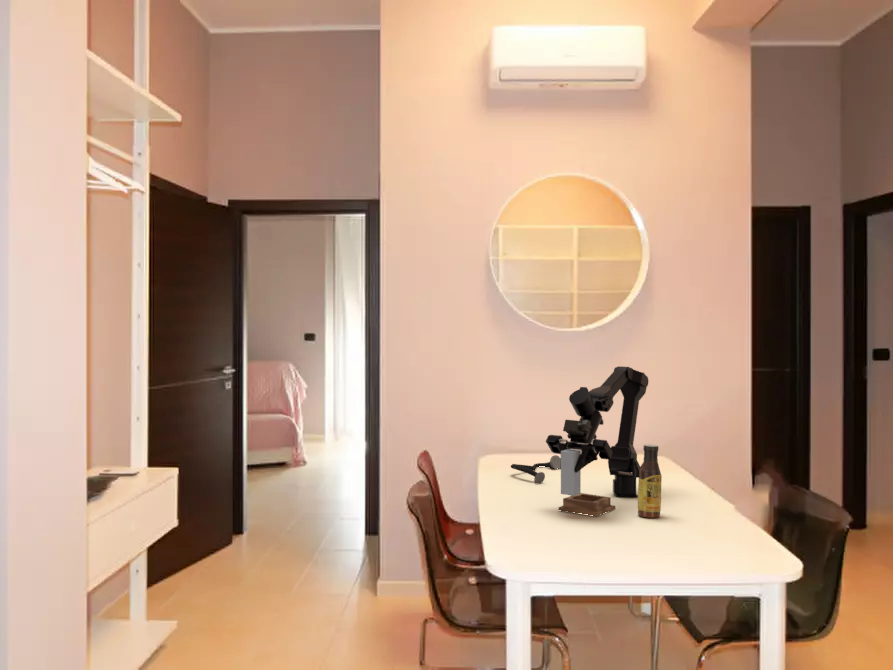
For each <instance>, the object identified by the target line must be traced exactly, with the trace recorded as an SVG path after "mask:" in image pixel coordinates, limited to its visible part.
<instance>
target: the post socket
mask: <svg viewBox="0 0 893 670" xmlns="http://www.w3.org/2000/svg"><path fill="white" fill-rule="evenodd" d="M562 500H563V501H562V505H561V506H558V507H557V508H558V509H557V510H561V511H560V512H562V511H568V512H575V513H582V514H588V515H593V516H598V515H600V514H603V513H605V512H608V511H610V512H612V511H614V509H615V510H616V505H612V504H611V503H612V500H611V497H610V496H603V495H597V494H589V493H584V492H581V493H580V494H577V495H575V496H571V495H568V496H567V497H563V498H562ZM611 510H612V511H611ZM568 512H567V513H568ZM608 513H609V512H608ZM605 514H606V513H605ZM603 515H604V514H603ZM600 516H601V515H600ZM598 517H599V516H598Z"/></svg>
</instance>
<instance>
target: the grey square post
mask: <svg viewBox="0 0 893 670" xmlns="http://www.w3.org/2000/svg"><path fill="white" fill-rule="evenodd" d="M580 455H581V450H573V449H567V450H563V451H561V454H560V458H561V469H560V495H567V496H575V495H577V494H580V493H582V491H581V489H582V488H581V485H582V484H581V479H582V478H581V477H582V476H581V470H582V469H581V470H579V471H578V472H577V473H575V471H574V469H575V466H576V464H577V461H578V459H579V457H580Z"/></svg>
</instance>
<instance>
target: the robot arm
mask: <svg viewBox="0 0 893 670" xmlns="http://www.w3.org/2000/svg"><path fill="white" fill-rule="evenodd" d="M648 386H649V377H648V376H647V375H646V374H645V372H642V371H639V370H636V369H633V368H632V367H630V366H619V365H618V366H615V367H614V369H613V371H612V372H611V374H610V375H609V376H608V377H607V378H606V379H605V380H604V382H603V383H602V384H601V385H600V386H598V387H594V388H592V389H590V390H589V389H588V387H587V386H580V387H579V389H576V390H575V391H573V392H572V393H571V394H570V395H569V397H568V399H569V402H570V404H571V406H572V408H573V410H574V412H575V414H576V415H577V416H578V417H579V420H577V419H576V420H574V419H573V420H572V419H565V420H564V424H563V425H564V426H563V429H562V431H563V432H566V433H567V435H566V436H567V438H568V439H570V440H567V439H565V438H563V436H562V435H558V434H549V435H548V436H547V438H546V439H545V443H546V444H547V446H548V448H549V450H550V451H551V452H552V453H553V454H559V455H561V451H563V450H567V449H571V450H580V451H581V455H580V457H579V459H578V461H577V464H576V466H575V469H574V471H575V473H577V472H578V471H579V470H582V469H583V468H584V467H586V466H587V465H589V464H591V463H593V462H594V461H597V460H599V459H598V457H599V458H600V459H601V460H607V464H608V471H609V475H610V476H614V478H613V479H612V493H613V494H614V496H615V497H619V498H625V497H626V498H638V493H637V478H638V479H639V469H640V467H641V465H640V464H639V461H638V453H637V451H636V449H635V447H634V441H635V433H636V425H637V419H638V411H639V404H640V400H641V399H642V398H643V397H644V396H645V394H646V393H647V387H648ZM619 391H620V392H621V394H622V396H623V402H622V409H621V414H620V415H621V417H620V423H619V429H618V437H617V442H616V443H615V444H614V445H612V446H610V443H609V442H608V441H607V440H606V439H597V438H598V437H597V434H596V433H597V431H598V429H599V426H600V425H601V426H603V425H604V419H603V416H602V413H601V412H603V413H604V412H605V413H608V412H610V410H611V408H612V406H614V405H613V404H614V397H615V396H616V395H617V394H618V392H619ZM559 470H561V461H560V469H559Z"/></svg>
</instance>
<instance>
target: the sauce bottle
mask: <svg viewBox="0 0 893 670" xmlns="http://www.w3.org/2000/svg"><path fill="white" fill-rule="evenodd" d="M658 453H659V445H657V444H643V461H642V463H641V465H640V469H639V478H638V484H637V485H638V487H637V510H638V511H637V515H638V516H639V517H642V518H649V519H651V518H652V519H655V518H658V517H660V516H661V507H662V506H661V505H662V482H663V481H662V478H663V477H662V475H663V474H662V472H661V470H660V466H659V459H658V455H659V454H658Z"/></svg>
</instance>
